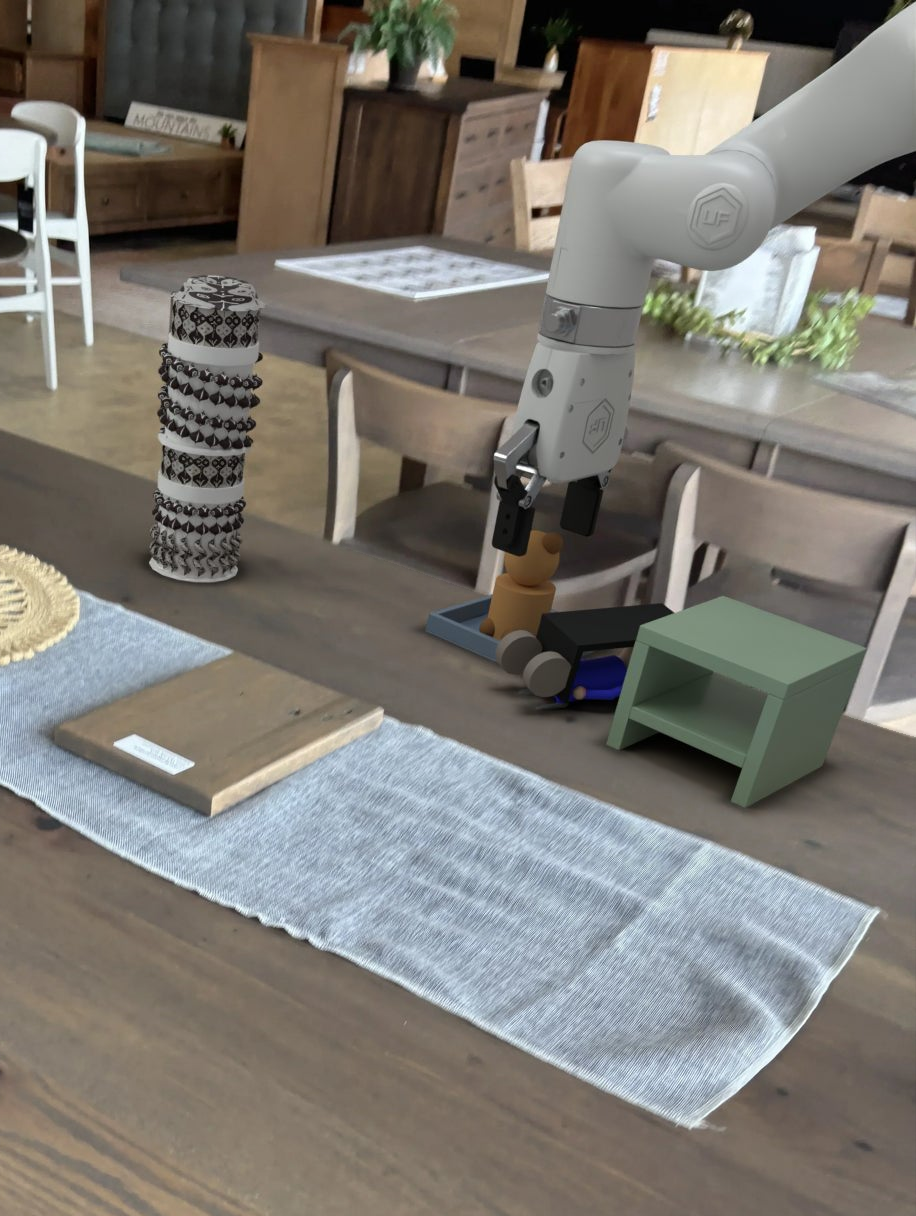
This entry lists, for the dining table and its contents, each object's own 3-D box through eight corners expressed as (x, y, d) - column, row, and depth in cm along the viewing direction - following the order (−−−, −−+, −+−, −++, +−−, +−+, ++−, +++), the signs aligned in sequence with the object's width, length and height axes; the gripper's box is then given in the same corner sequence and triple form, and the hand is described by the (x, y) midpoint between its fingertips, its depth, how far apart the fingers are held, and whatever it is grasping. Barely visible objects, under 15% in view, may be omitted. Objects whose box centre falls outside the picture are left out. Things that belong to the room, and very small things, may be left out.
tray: (500, 610, 132) (505, 589, 131) (601, 652, 126) (607, 631, 124) (424, 634, 125) (428, 612, 124) (526, 679, 119) (532, 657, 118)
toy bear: (507, 622, 128) (532, 513, 122) (554, 642, 125) (582, 531, 119) (468, 634, 125) (492, 523, 119) (516, 655, 122) (542, 542, 116)
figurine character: (525, 741, 112) (689, 710, 116) (537, 652, 108) (707, 623, 111) (486, 704, 117) (643, 676, 121) (496, 618, 113) (659, 592, 116)
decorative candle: (143, 549, 137) (163, 266, 122) (238, 556, 138) (269, 275, 123) (144, 582, 129) (165, 285, 115) (244, 590, 130) (277, 295, 116)
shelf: (686, 712, 116) (723, 595, 111) (821, 769, 110) (868, 648, 104) (604, 747, 109) (639, 625, 103) (743, 811, 102) (789, 684, 97)
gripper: (564, 344, 103) (517, 573, 113) (689, 325, 113) (636, 537, 123) (482, 324, 107) (444, 546, 117) (610, 307, 117) (564, 513, 127)
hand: (542, 541), depth 120 cm, fingers open, 9 cm apart
